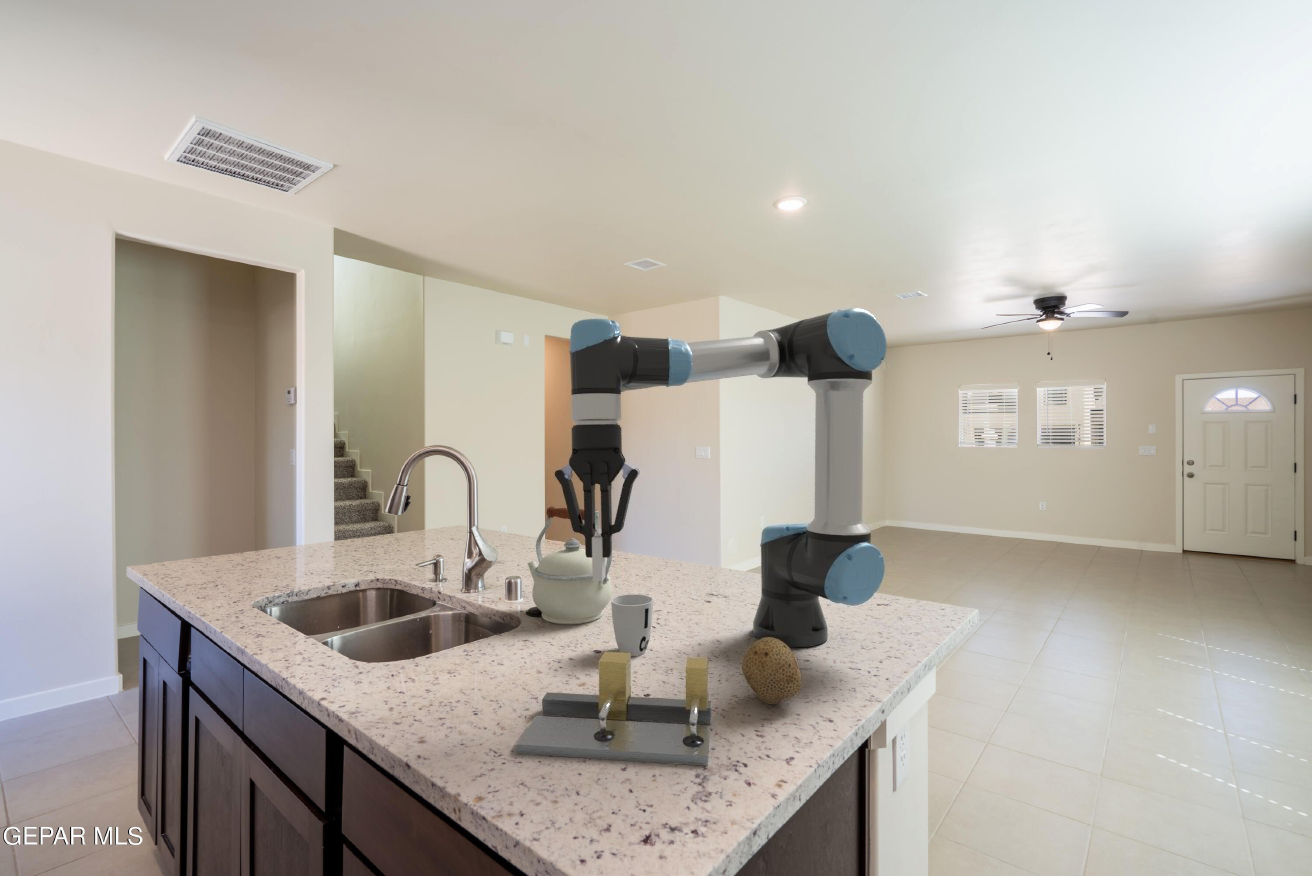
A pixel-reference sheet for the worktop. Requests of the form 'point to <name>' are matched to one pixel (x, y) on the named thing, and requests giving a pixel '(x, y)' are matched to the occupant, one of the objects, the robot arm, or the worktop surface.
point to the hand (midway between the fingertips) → (599, 578)
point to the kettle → (568, 580)
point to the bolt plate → (616, 740)
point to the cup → (632, 622)
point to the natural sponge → (771, 670)
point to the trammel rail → (645, 702)
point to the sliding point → (614, 687)
